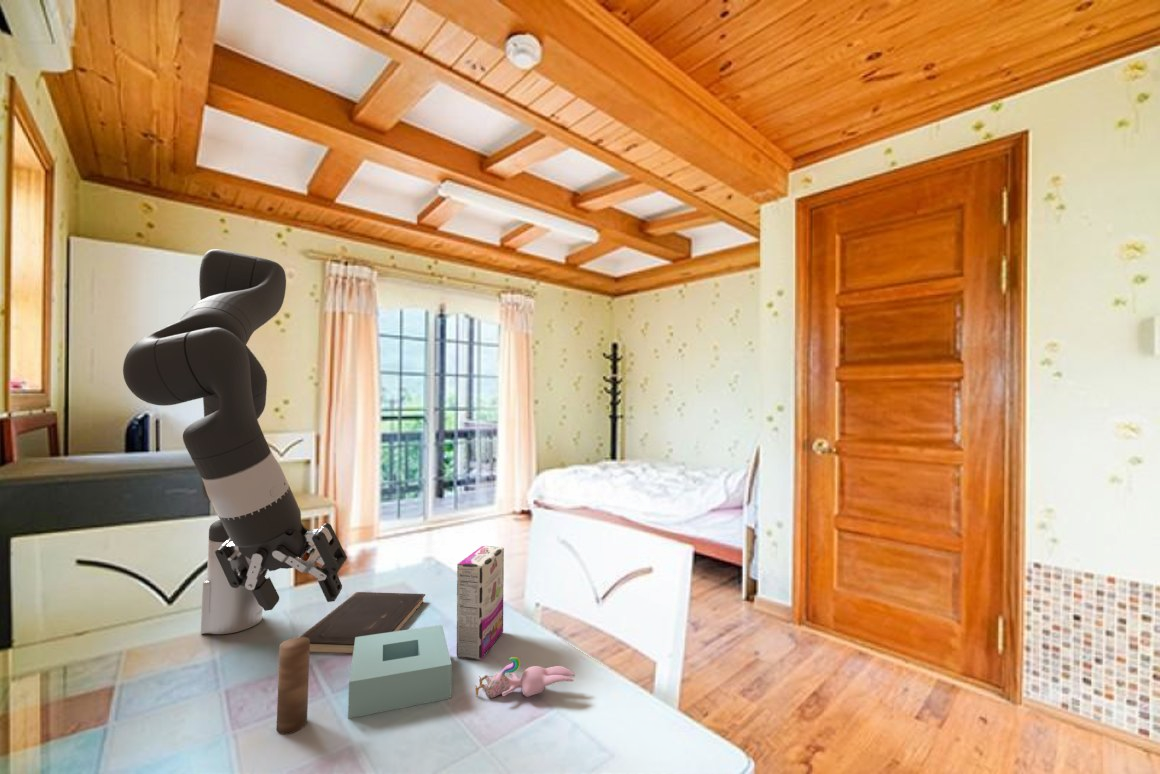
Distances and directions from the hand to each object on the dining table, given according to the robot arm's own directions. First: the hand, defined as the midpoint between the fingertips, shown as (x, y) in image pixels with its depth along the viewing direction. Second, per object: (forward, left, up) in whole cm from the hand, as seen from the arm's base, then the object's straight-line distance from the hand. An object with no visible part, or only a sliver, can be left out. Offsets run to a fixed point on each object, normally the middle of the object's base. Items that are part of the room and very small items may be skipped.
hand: (303, 601), depth 64 cm
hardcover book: (+7, +35, -19) cm, 40 cm away
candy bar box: (+27, +19, -18) cm, 37 cm away
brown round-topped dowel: (-1, +5, -18) cm, 19 cm away
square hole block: (+13, +11, -18) cm, 25 cm away
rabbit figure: (+30, +1, -19) cm, 36 cm away
